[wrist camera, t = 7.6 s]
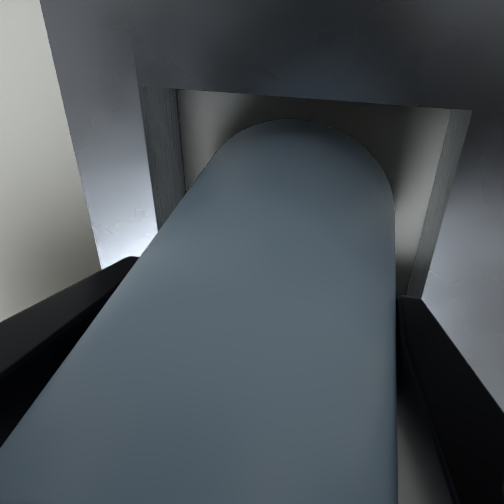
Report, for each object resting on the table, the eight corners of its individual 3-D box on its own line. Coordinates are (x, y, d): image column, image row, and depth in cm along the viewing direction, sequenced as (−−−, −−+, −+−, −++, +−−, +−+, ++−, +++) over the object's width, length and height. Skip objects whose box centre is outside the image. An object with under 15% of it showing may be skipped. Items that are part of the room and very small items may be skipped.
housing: (1176, -1, 7) (1398, 24, 6) (762, 411, 13) (814, 480, 11) (88, -29, 11) (35, -19, 9) (146, 308, 16) (120, 351, 15)
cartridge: (413, 128, 10) (469, 683, 3) (377, 302, 13) (360, 803, 6) (193, 110, 11) (-187, 493, 4) (205, 276, 14) (1, 678, 6)
